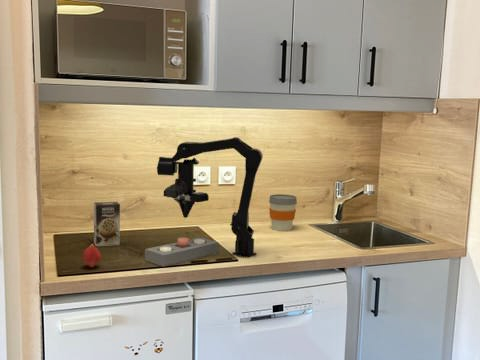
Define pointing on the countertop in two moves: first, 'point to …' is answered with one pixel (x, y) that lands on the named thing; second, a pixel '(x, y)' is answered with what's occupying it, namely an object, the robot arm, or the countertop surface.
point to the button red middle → (182, 242)
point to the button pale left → (165, 249)
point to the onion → (91, 256)
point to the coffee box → (106, 223)
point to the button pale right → (199, 241)
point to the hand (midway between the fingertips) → (185, 217)
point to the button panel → (180, 252)
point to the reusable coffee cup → (282, 211)
